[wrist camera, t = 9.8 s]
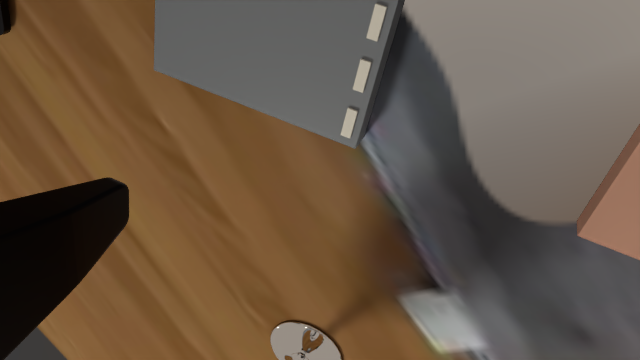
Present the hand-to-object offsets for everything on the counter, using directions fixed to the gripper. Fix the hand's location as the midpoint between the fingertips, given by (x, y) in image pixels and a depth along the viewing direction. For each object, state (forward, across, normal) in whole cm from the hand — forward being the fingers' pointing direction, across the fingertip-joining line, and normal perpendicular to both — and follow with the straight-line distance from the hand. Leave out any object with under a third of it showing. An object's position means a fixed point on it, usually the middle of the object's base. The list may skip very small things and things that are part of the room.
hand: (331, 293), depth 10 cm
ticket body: (+12, +7, 0) cm, 14 cm away
